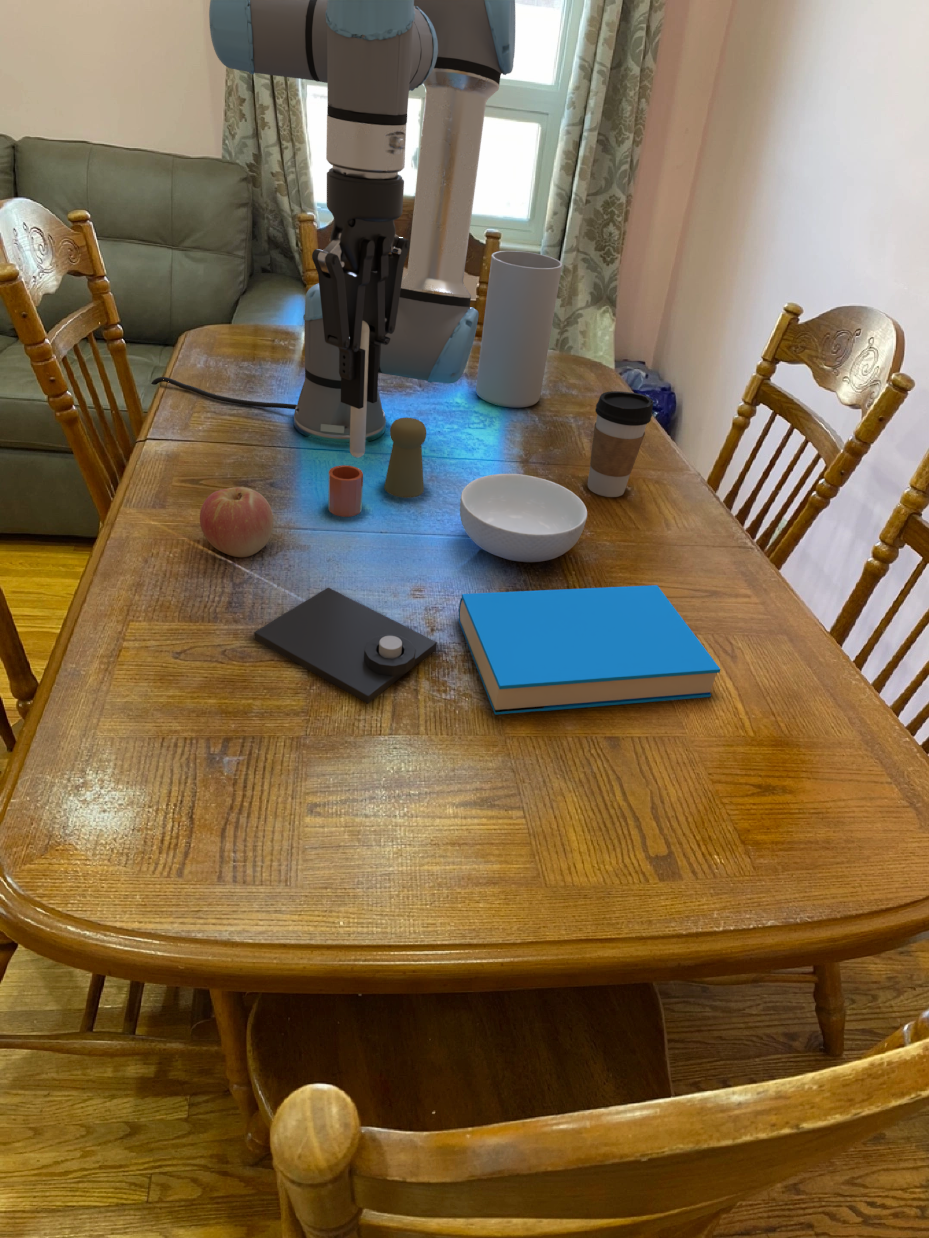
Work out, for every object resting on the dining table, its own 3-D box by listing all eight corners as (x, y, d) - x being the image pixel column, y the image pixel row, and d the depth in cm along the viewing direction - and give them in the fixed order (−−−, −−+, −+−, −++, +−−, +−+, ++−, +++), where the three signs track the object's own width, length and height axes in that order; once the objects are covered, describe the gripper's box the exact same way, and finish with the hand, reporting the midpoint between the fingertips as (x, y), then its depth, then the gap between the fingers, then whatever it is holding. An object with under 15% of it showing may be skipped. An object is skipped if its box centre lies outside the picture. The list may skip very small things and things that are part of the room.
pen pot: (321, 511, 114) (321, 472, 111) (343, 500, 118) (344, 462, 114) (346, 523, 113) (347, 483, 109) (368, 511, 116) (370, 473, 112)
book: (722, 669, 88) (501, 685, 81) (710, 699, 91) (495, 717, 84) (655, 581, 101) (459, 588, 95) (646, 609, 104) (455, 618, 97)
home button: (374, 652, 87) (374, 642, 86) (388, 642, 89) (388, 632, 88) (392, 662, 86) (392, 652, 85) (405, 651, 88) (406, 641, 87)
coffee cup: (631, 505, 127) (655, 412, 118) (577, 495, 127) (596, 402, 119) (633, 482, 133) (655, 393, 125) (581, 472, 134) (600, 383, 125)
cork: (431, 489, 124) (437, 420, 117) (412, 504, 119) (418, 433, 113) (395, 478, 125) (400, 409, 119) (376, 493, 121) (379, 422, 114)
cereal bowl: (492, 590, 103) (499, 542, 99) (434, 527, 114) (439, 481, 110) (602, 568, 110) (613, 522, 106) (537, 510, 122) (545, 467, 118)
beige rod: (346, 456, 98) (349, 320, 88) (356, 452, 99) (360, 317, 89) (358, 461, 97) (362, 324, 87) (367, 457, 98) (373, 321, 89)
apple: (239, 575, 100) (236, 517, 95) (187, 550, 103) (181, 492, 98) (288, 548, 106) (287, 492, 101) (237, 524, 109) (234, 469, 105)
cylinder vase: (550, 397, 161) (574, 262, 146) (519, 414, 152) (541, 272, 137) (496, 380, 166) (513, 248, 151) (463, 395, 157) (478, 256, 142)
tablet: (254, 640, 90) (253, 621, 88) (328, 594, 98) (328, 577, 97) (372, 707, 83) (373, 688, 82) (441, 652, 92) (443, 634, 90)
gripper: (346, 183, 73) (341, 430, 87) (440, 172, 83) (423, 394, 97) (283, 168, 76) (289, 409, 90) (382, 159, 86) (373, 376, 100)
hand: (358, 401), depth 94 cm, fingers closed on beige rod, 2 cm apart
